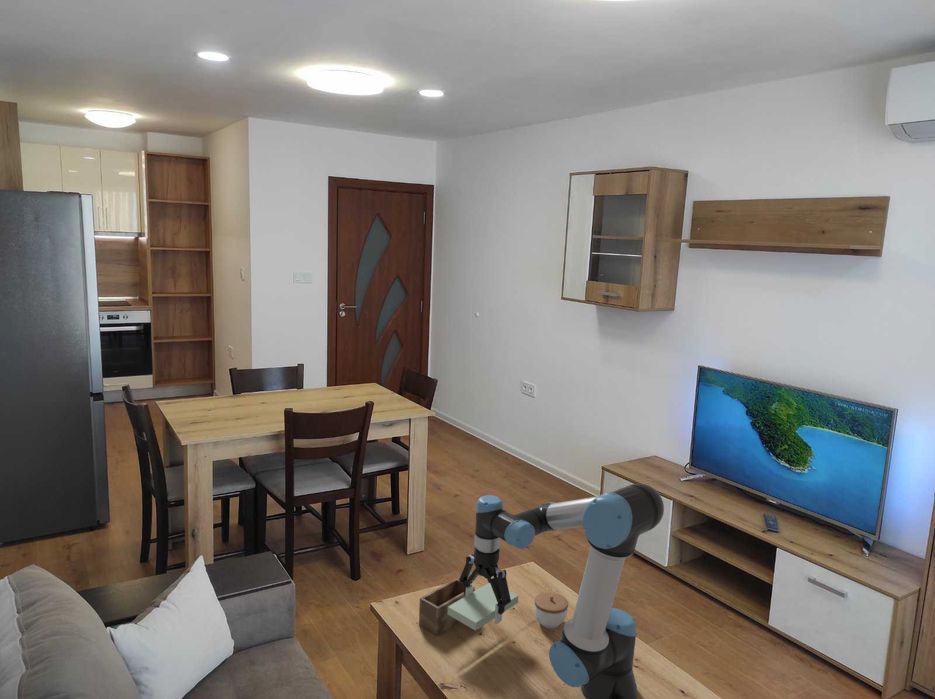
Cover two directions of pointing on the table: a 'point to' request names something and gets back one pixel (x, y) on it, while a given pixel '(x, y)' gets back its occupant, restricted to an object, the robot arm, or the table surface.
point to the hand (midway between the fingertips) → (483, 613)
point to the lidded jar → (550, 609)
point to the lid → (478, 607)
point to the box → (440, 607)
